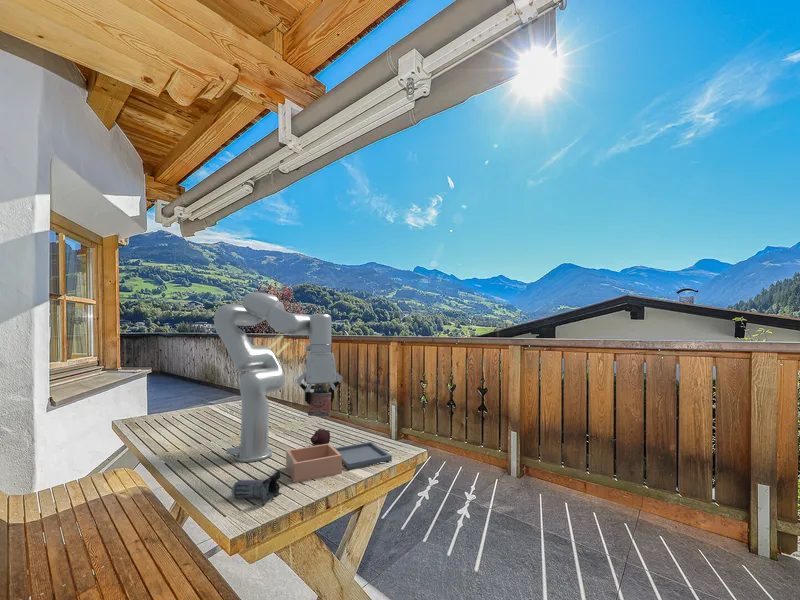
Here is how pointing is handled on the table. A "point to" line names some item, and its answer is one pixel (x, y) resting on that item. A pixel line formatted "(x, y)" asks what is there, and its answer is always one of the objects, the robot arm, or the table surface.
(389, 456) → the tray
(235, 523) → the table surface
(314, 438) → the icecream
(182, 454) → the table surface
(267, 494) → the dark blue piece
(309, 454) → the pink open box
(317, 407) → the lighter
